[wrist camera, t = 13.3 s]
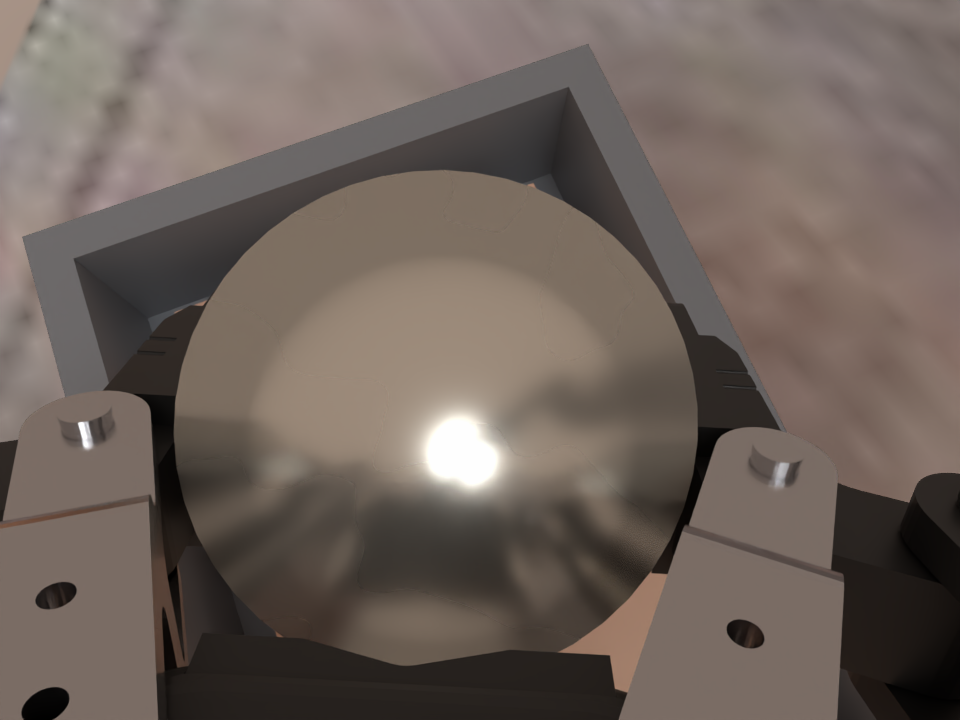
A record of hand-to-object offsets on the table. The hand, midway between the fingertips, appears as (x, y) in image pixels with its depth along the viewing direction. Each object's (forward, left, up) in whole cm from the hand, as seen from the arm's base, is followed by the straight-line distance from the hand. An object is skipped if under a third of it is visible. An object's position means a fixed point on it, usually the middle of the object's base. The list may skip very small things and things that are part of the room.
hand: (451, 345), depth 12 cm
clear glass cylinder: (+1, +2, -4) cm, 5 cm away
